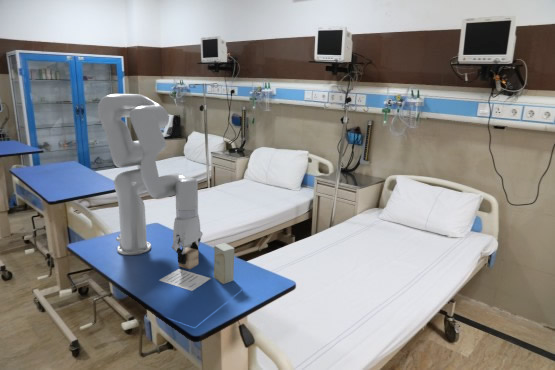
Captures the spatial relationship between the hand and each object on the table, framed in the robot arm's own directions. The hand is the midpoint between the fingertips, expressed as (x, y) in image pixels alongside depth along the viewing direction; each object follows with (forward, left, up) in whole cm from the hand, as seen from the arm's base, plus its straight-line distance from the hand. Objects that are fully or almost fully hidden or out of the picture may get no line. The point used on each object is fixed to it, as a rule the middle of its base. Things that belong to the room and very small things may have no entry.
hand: (188, 259), depth 143 cm
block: (0, 0, -3) cm, 3 cm away
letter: (+6, -9, -3) cm, 11 cm away
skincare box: (+17, -2, -3) cm, 17 cm away
